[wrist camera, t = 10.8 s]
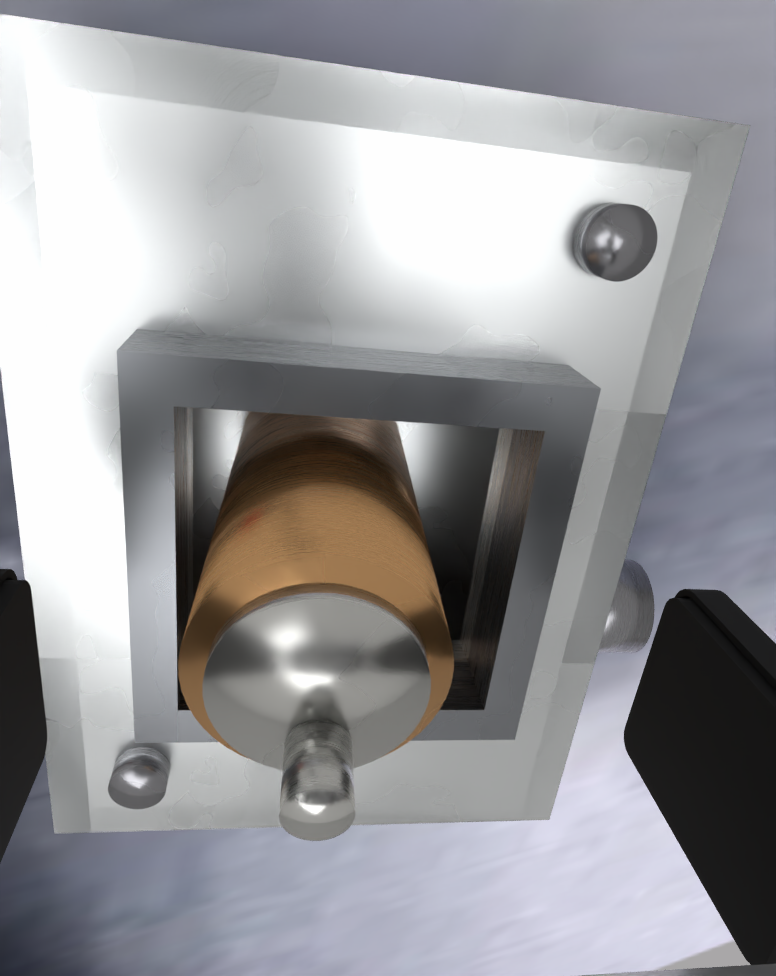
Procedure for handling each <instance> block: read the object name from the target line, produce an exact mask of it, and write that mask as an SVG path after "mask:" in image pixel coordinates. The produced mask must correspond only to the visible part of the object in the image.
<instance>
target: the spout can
mask: <svg viewBox="0 0 776 976" xmlns="http://www.w3.org/2000/svg"><path fill="white" fill-rule="evenodd" d="M453 672H454V653H453V646H452V641H451V637H450V633H449V629H448V625H447V621H446V617H445V613H444V609H443V605H442V601H441V597H440V593H439V589H438V585H437V581H436V577H435V573H434V569H433V565H432V561H431V557H430V553H429V549H428V545H427V541H426V537H425V533H424V529H423V525H422V521H421V517H420V513H419V509H418V505H417V501H416V497H415V493H414V489H413V485H412V481H411V477H410V473H409V469H408V465H407V461H406V457H405V453H404V449H403V445H402V441H401V437H400V433H399V430H398V427H397V424H396V422H395V421H385V420H370V419H355V418H340V417H325V416H310V415H295V414H280V413H265V412H250V414H249V416H248V418H247V420H246V422H245V424H244V427H243V431H242V434H241V437H240V441H239V444H238V448H237V451H236V455H235V458H234V462H233V465H232V469H231V472H230V476H229V479H228V483H227V486H226V490H225V493H224V497H223V500H222V504H221V507H220V511H219V514H218V518H217V521H216V525H215V528H214V532H213V535H212V539H211V542H210V546H209V549H208V553H207V556H206V560H205V563H204V567H203V570H202V574H201V577H200V581H199V584H198V587H197V591H196V594H195V598H194V601H193V605H192V608H191V612H190V615H189V619H188V622H187V626H186V629H185V633H184V636H183V640H182V643H181V647H180V653H179V660H178V675H179V681H180V686H181V691H182V693H183V696H184V699H185V701H186V704H187V705H188V707H189V709H190V711H191V712H192V714H193V716H194V717H195V718H196V720H197V721H198V722H199V723H200V725H201V726H202V727H203V728H204V729H205V730H206V731H207V732H208V733H209V734H210V735H211V736H212V737H213V738H214V739H216V740H217V741H218V742H220V743H221V744H222V745H224V746H225V747H227V748H228V749H230V750H232V751H234V752H235V753H237V754H239V755H241V756H243V757H246V758H248V759H250V760H253V761H255V762H258V763H260V764H262V765H265V766H268V767H271V768H274V769H278V770H282V782H281V797H280V811H279V820H280V823H281V825H282V827H283V828H284V829H285V830H286V831H287V832H288V833H289V834H291V835H293V836H294V837H297V838H300V839H303V840H310V841H321V840H327V839H331V838H334V837H336V836H338V835H340V834H342V833H344V832H345V831H346V830H347V829H348V828H349V827H350V826H351V825H352V823H353V821H354V818H355V797H354V774H353V768H356V767H360V766H362V765H365V764H368V763H370V762H373V761H375V760H377V759H379V758H381V757H383V756H385V755H387V754H389V753H391V752H393V751H395V750H397V749H398V748H400V747H402V746H403V745H405V744H406V743H408V742H409V741H411V740H412V739H413V738H414V737H415V736H417V735H418V734H419V733H420V732H421V731H422V730H423V729H424V728H425V727H426V726H427V725H428V724H429V723H430V722H431V721H432V720H433V718H434V717H435V715H436V714H437V713H438V711H439V710H440V708H441V706H442V705H443V703H444V701H445V699H446V697H447V694H448V692H449V689H450V686H451V682H452V677H453Z"/></svg>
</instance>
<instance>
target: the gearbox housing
mask: <svg viewBox="0 0 776 976" xmlns="http://www.w3.org/2000/svg"><path fill="white" fill-rule="evenodd" d="M749 128H750V125H743V124H737V123H730V122H723V121H716V120H710V119H703V118H696V117H690V116H683V115H676V114H669V113H663V112H656V111H649V110H643V109H636V108H629V107H622V106H616V105H609V104H602V103H595V102H589V101H582V100H575V99H569V98H562V97H555V96H548V95H542V94H535V93H528V92H522V91H515V90H508V89H501V88H495V87H488V86H481V85H474V84H468V83H461V82H454V81H448V80H441V79H434V78H427V77H421V76H414V75H407V74H401V73H394V72H387V71H380V70H374V69H367V68H360V67H354V66H347V65H340V64H333V63H327V62H320V61H313V60H306V59H300V58H293V57H286V56H280V55H273V54H266V53H259V52H253V51H246V50H239V49H233V48H226V47H219V46H212V45H206V44H199V43H192V42H185V41H179V40H172V39H165V38H159V37H152V36H145V35H138V34H132V33H125V32H118V31H112V30H105V29H98V28H91V27H85V26H78V25H71V24H64V23H58V22H51V21H44V20H38V19H31V18H24V17H17V16H11V15H4V14H0V369H1V377H2V386H3V394H4V403H5V412H6V420H7V429H8V437H9V446H10V455H11V463H12V472H13V480H14V489H15V498H16V506H17V515H18V523H19V532H20V540H21V549H22V558H23V566H24V575H25V580H26V581H28V582H29V584H30V586H31V591H32V600H33V609H34V618H35V627H36V636H37V645H38V653H39V662H40V671H41V680H42V689H43V698H44V707H45V716H46V724H47V746H46V751H45V755H46V764H47V773H48V781H49V790H50V798H51V807H52V815H53V824H54V833H88V832H124V831H160V830H196V829H232V828H268V827H282V825H281V823H280V820H279V811H280V797H281V782H282V770H278V769H274V768H271V767H268V766H265V765H262V764H260V763H258V762H255V761H253V760H250V759H248V758H246V757H243V756H241V755H239V754H237V753H235V752H234V751H232V750H230V749H228V748H227V747H225V746H224V745H222V744H221V743H220V742H218V741H217V740H216V739H214V738H213V737H212V736H211V735H210V734H209V733H208V732H207V731H206V730H205V729H204V728H203V727H202V726H201V725H200V723H199V722H198V721H197V720H196V718H195V717H194V716H193V714H192V712H191V711H190V709H189V707H188V705H187V704H186V701H185V699H184V696H183V693H182V691H181V686H180V681H179V675H178V660H179V653H180V647H181V643H182V640H183V636H184V633H185V629H186V626H187V622H188V619H189V615H190V612H191V608H192V605H193V601H194V598H195V594H196V591H197V587H198V584H199V581H200V577H201V574H202V570H203V567H204V563H205V560H206V556H207V553H208V549H209V546H210V542H211V539H212V535H213V532H214V528H215V525H216V521H217V518H218V514H219V511H220V507H221V504H222V500H223V497H224V493H225V490H226V486H227V483H228V479H229V476H230V472H231V469H232V465H233V462H234V458H235V455H236V451H237V448H238V444H239V441H240V437H241V434H242V431H243V427H244V424H245V422H246V420H247V418H248V416H249V414H250V412H265V413H280V414H295V415H310V416H325V417H340V418H355V419H370V420H385V421H395V422H396V424H397V427H398V430H399V433H400V437H401V441H402V445H403V449H404V453H405V457H406V461H407V465H408V469H409V473H410V477H411V481H412V485H413V489H414V493H415V497H416V501H417V505H418V509H419V513H420V517H421V521H422V525H423V529H424V533H425V537H426V541H427V545H428V549H429V553H430V557H431V561H432V565H433V569H434V573H435V577H436V581H437V585H438V589H439V593H440V597H441V601H442V605H443V609H444V613H445V617H446V621H447V625H448V629H449V633H450V637H451V641H452V646H453V653H454V672H453V677H452V682H451V686H450V689H449V692H448V694H447V697H446V699H445V701H444V703H443V705H442V706H441V708H440V710H439V711H438V713H437V714H436V715H435V717H434V718H433V720H432V721H431V722H430V723H429V724H428V725H427V726H426V727H425V728H424V729H423V730H422V731H421V732H420V733H419V734H418V735H417V736H415V737H414V738H413V739H412V740H411V741H409V742H408V743H406V744H405V745H403V746H402V747H400V748H398V749H397V750H395V751H393V752H391V753H389V754H387V755H385V756H383V757H381V758H379V759H377V760H375V761H373V762H370V763H368V764H365V765H362V766H360V767H356V768H353V774H354V797H355V818H354V821H353V823H352V825H376V824H412V823H448V822H484V821H520V820H549V819H550V815H551V812H552V808H553V805H554V802H555V798H556V795H557V791H558V788H559V784H560V781H561V777H562V774H563V770H564V767H565V764H566V760H567V757H568V753H569V750H570V746H571V743H572V739H573V736H574V732H575V729H576V726H577V722H578V719H579V715H580V712H581V708H582V705H583V701H584V698H585V694H586V691H587V688H588V684H589V681H590V677H591V674H592V670H593V667H594V663H595V660H596V656H597V653H598V652H637V651H639V650H641V649H642V648H643V647H644V646H645V644H646V643H647V641H648V639H649V637H650V634H651V631H652V627H653V621H654V598H653V592H652V588H651V584H650V581H649V578H648V576H647V574H646V572H645V571H644V569H643V568H642V567H641V566H640V565H639V564H638V563H637V562H635V561H632V560H625V556H626V553H627V549H628V546H629V543H630V539H631V536H632V532H633V529H634V525H635V522H636V518H637V515H638V511H639V508H640V505H641V501H642V498H643V494H644V491H645V487H646V484H647V480H648V477H649V473H650V470H651V467H652V463H653V460H654V456H655V453H656V449H657V446H658V442H659V439H660V435H661V432H662V429H663V425H664V422H665V418H666V415H667V411H668V408H669V404H670V401H671V397H672V394H673V391H674V387H675V384H676V380H677V377H678V373H679V370H680V366H681V363H682V359H683V356H684V353H685V349H686V346H687V342H688V339H689V335H690V332H691V328H692V325H693V321H694V318H695V315H696V311H697V308H698V304H699V301H700V297H701V294H702V290H703V287H704V283H705V280H706V277H707V273H708V270H709V266H710V263H711V259H712V256H713V252H714V249H715V246H716V242H717V239H718V235H719V232H720V228H721V225H722V221H723V218H724V214H725V211H726V208H727V204H728V201H729V197H730V194H731V190H732V187H733V183H734V180H735V176H736V173H737V170H738V166H739V163H740V159H741V156H742V152H743V149H744V145H745V142H746V138H747V135H748V132H749Z"/></svg>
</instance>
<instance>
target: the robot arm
mask: <svg viewBox="0 0 776 976" xmlns="http://www.w3.org/2000/svg"><path fill="white" fill-rule="evenodd" d="M624 743H625V747H626V750H627V753H628V755H629V757H630V758H631V760H632V762H633V764H634V765H635V767H636V769H637V771H638V772H639V774H640V776H641V778H642V779H643V781H644V783H645V785H646V786H647V788H648V790H649V792H650V793H651V795H652V797H653V799H654V800H655V802H656V804H657V806H658V807H659V809H660V811H661V813H662V814H663V816H664V818H665V820H666V821H667V823H668V825H669V827H670V828H671V830H672V832H673V834H674V835H675V837H676V839H677V841H678V842H679V844H680V846H681V848H682V849H683V851H684V853H685V855H686V856H687V858H688V860H689V862H690V863H691V865H692V867H693V869H694V870H695V872H696V874H697V876H698V877H699V879H700V881H701V883H702V884H703V886H704V888H705V890H706V891H707V893H708V895H709V897H710V898H711V900H712V902H713V904H714V905H715V907H716V909H717V911H718V912H719V914H720V916H721V918H722V919H723V921H724V923H725V924H726V926H727V928H728V930H729V931H730V933H731V935H732V937H733V938H734V940H735V942H736V944H737V945H738V947H739V949H740V951H741V952H742V954H743V955H744V957H745V959H746V960H747V961H748V962H749V963H750V964H751V965H745V966H729V967H712V968H695V969H678V970H662V971H645V972H629V973H613V974H598V975H582V976H776V644H775V643H774V642H773V641H772V640H771V639H770V638H769V637H768V636H767V635H766V634H765V633H764V632H763V631H762V630H761V629H760V628H759V627H758V626H757V625H756V624H755V623H754V622H753V621H752V620H751V619H750V618H749V617H748V616H747V615H746V614H745V613H744V612H743V611H742V610H741V609H740V608H739V607H738V606H737V605H736V604H735V603H734V602H733V601H732V600H731V599H730V598H729V597H728V596H727V595H726V594H724V593H723V592H722V591H718V590H697V589H684V590H681V591H679V592H678V593H677V595H676V596H675V598H672V599H669V600H668V601H667V603H666V605H665V607H664V610H663V613H662V616H661V619H660V622H659V625H658V628H657V631H656V634H655V637H654V640H653V644H652V647H651V650H650V653H649V656H648V659H647V662H646V665H645V668H644V671H643V674H642V677H641V680H640V683H639V686H638V689H637V692H636V696H635V699H634V702H633V705H632V708H631V711H630V714H629V717H628V720H627V723H626V726H625V730H624ZM46 746H47V724H46V716H45V707H44V698H43V689H42V680H41V671H40V662H39V653H38V645H37V636H36V627H35V618H34V609H33V600H32V591H31V586H30V584H29V582H28V581H26V580H17V576H16V574H15V572H14V571H13V570H11V569H0V862H1V860H2V858H3V855H4V853H5V850H6V848H7V846H8V843H9V841H10V838H11V836H12V834H13V831H14V829H15V826H16V824H17V822H18V819H19V817H20V814H21V812H22V810H23V807H24V805H25V802H26V800H27V798H28V795H29V793H30V790H31V788H32V786H33V783H34V781H35V778H36V776H37V774H38V771H39V769H40V766H41V764H42V762H43V759H44V755H45V751H46Z"/></svg>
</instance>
